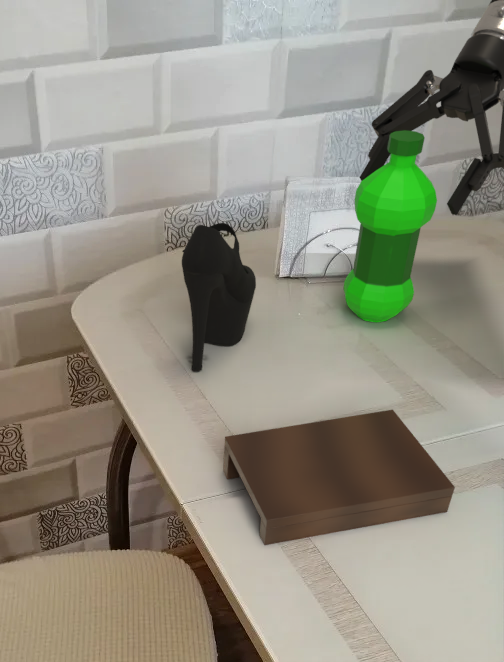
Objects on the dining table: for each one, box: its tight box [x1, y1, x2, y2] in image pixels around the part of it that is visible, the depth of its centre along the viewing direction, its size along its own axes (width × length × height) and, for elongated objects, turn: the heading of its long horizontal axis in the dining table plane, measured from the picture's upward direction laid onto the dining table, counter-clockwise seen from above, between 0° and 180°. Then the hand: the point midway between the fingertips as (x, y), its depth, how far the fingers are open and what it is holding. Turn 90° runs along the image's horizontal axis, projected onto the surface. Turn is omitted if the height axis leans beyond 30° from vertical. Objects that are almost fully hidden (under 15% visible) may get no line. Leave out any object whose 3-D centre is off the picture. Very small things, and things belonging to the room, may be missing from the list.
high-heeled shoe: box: [181, 222, 257, 373], centre depth 106 cm, size 8×19×20 cm, turn 155°
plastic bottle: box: [343, 130, 438, 324], centre depth 109 cm, size 10×10×25 cm
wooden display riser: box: [222, 409, 456, 546], centre depth 86 cm, size 20×14×5 cm
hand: (406, 196), depth 108 cm, fingers open, 13 cm apart
